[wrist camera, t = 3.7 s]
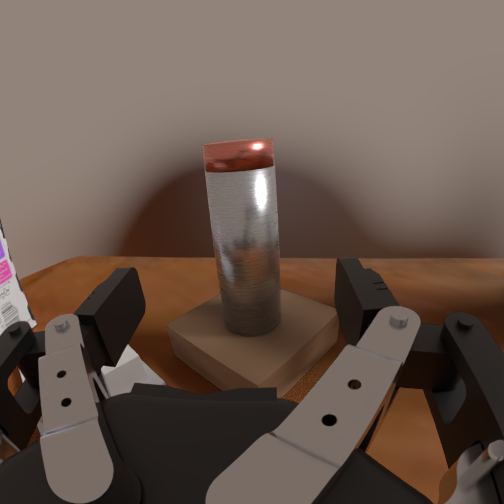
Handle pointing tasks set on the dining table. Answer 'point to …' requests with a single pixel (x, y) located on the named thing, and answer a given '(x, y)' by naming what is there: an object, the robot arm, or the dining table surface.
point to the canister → (245, 233)
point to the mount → (255, 344)
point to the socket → (122, 376)
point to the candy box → (11, 291)
